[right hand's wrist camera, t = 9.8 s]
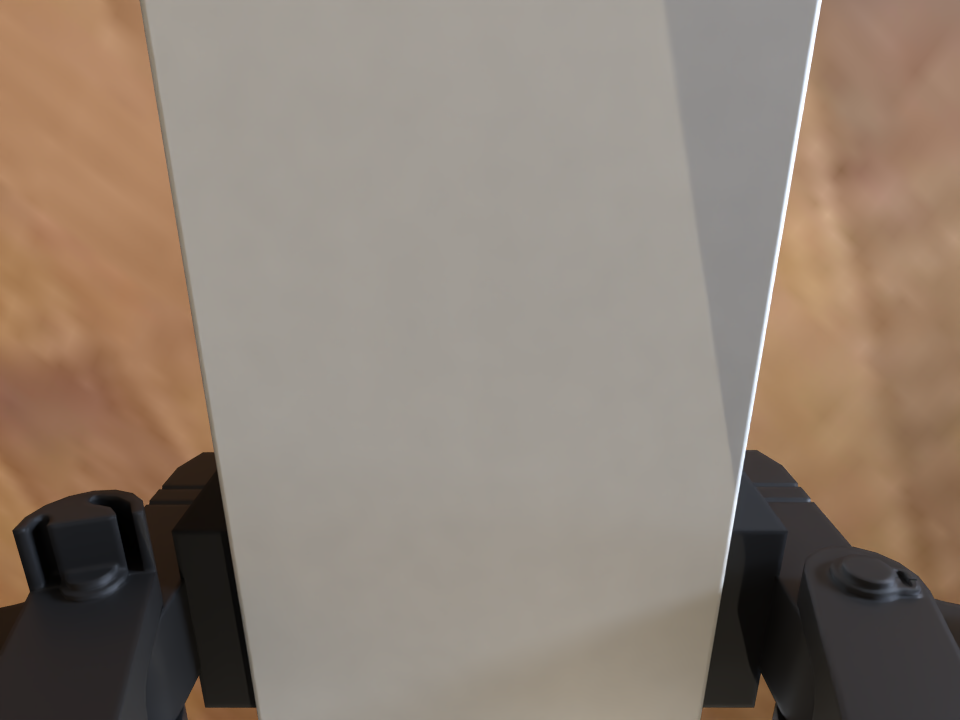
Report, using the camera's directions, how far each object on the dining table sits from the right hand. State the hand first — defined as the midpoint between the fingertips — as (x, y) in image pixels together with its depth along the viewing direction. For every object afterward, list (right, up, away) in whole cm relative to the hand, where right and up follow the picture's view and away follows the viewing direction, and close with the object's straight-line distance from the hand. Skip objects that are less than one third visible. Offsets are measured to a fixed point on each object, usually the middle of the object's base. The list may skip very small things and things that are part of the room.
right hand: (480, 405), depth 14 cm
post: (0, +27, -10) cm, 29 cm away
